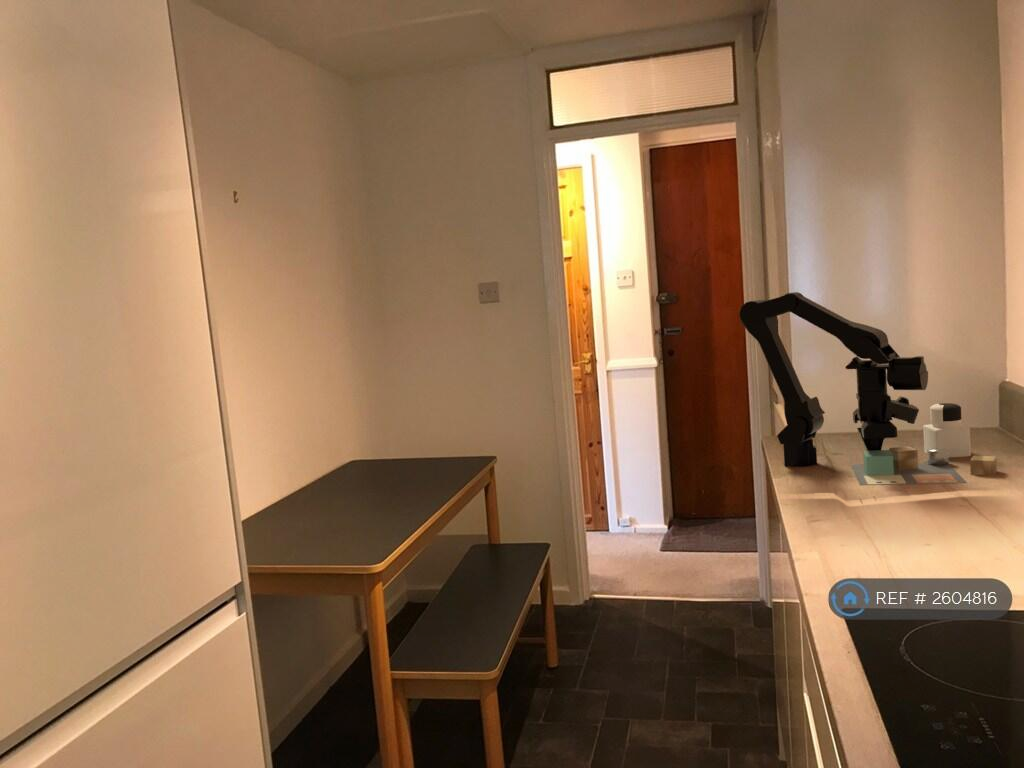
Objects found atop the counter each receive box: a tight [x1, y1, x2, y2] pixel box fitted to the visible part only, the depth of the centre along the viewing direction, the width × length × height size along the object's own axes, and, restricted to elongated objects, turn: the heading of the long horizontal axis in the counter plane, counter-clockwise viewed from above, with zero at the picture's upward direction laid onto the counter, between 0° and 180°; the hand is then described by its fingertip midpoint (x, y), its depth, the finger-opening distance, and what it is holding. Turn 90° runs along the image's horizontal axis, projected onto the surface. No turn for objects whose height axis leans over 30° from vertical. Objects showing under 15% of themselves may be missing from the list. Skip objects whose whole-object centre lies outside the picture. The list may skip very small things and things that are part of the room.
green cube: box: [862, 449, 894, 476], centre depth 172 cm, size 5×5×4 cm
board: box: [850, 461, 968, 486], centre depth 170 cm, size 19×18×1 cm
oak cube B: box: [970, 455, 998, 477], centre depth 165 cm, size 4×4×4 cm
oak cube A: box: [888, 445, 919, 471], centre depth 174 cm, size 4×4×4 cm
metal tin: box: [926, 448, 950, 466], centre depth 175 cm, size 4×4×3 cm
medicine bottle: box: [922, 402, 972, 459], centre depth 183 cm, size 7×7×12 cm
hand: (875, 462), depth 176 cm, fingers closed
